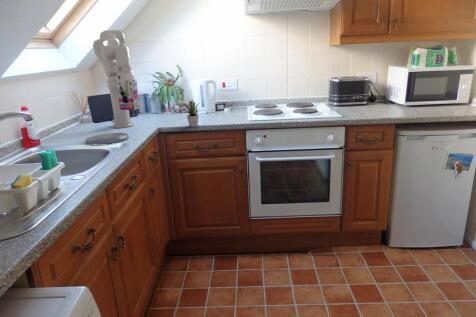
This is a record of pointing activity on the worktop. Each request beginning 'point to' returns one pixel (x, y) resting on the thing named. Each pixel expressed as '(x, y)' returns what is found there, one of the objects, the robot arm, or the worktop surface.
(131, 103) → the candy bar box
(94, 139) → the plate
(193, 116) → the house plant
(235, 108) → the worktop surface
